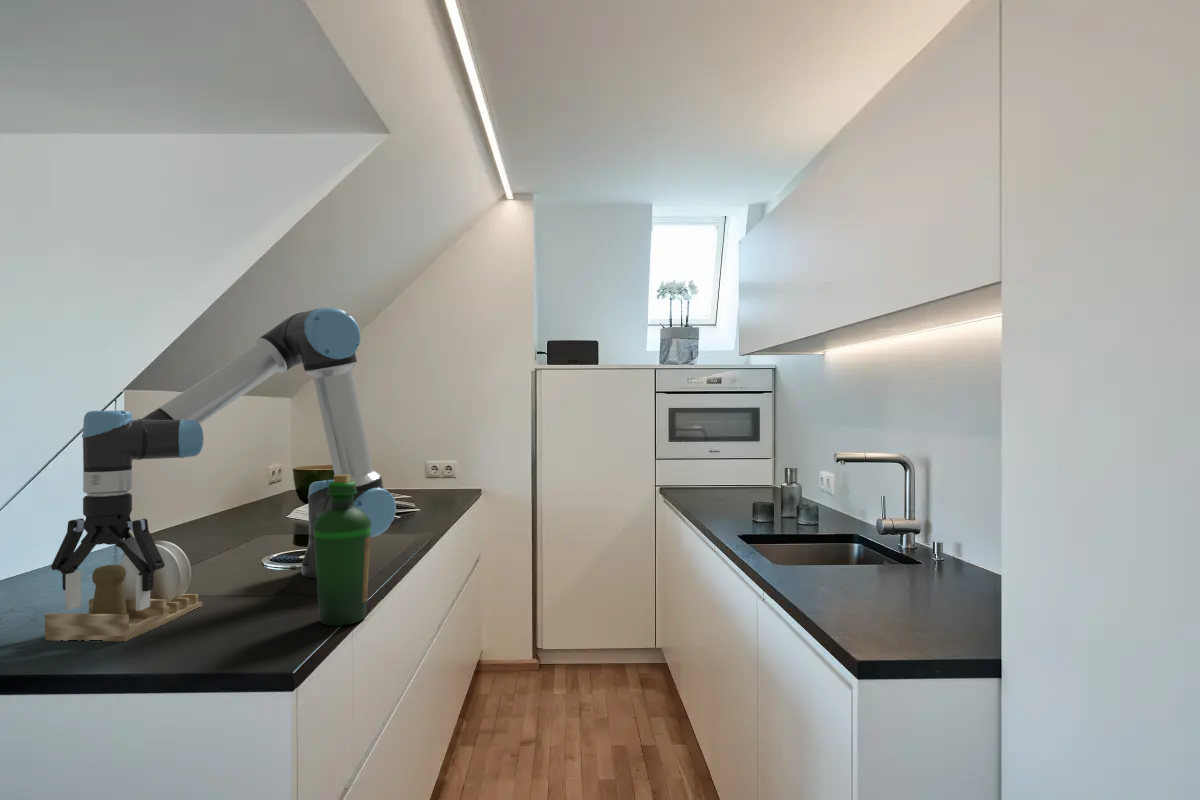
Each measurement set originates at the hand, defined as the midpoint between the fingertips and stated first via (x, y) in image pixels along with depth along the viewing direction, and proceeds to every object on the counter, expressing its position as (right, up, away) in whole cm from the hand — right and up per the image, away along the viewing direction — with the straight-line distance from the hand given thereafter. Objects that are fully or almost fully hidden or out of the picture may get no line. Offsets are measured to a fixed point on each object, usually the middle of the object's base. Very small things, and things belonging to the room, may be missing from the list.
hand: (108, 608), depth 133 cm
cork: (0, -3, 0) cm, 3 cm away
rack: (0, -4, +5) cm, 7 cm away
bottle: (+42, -4, +6) cm, 42 cm away
